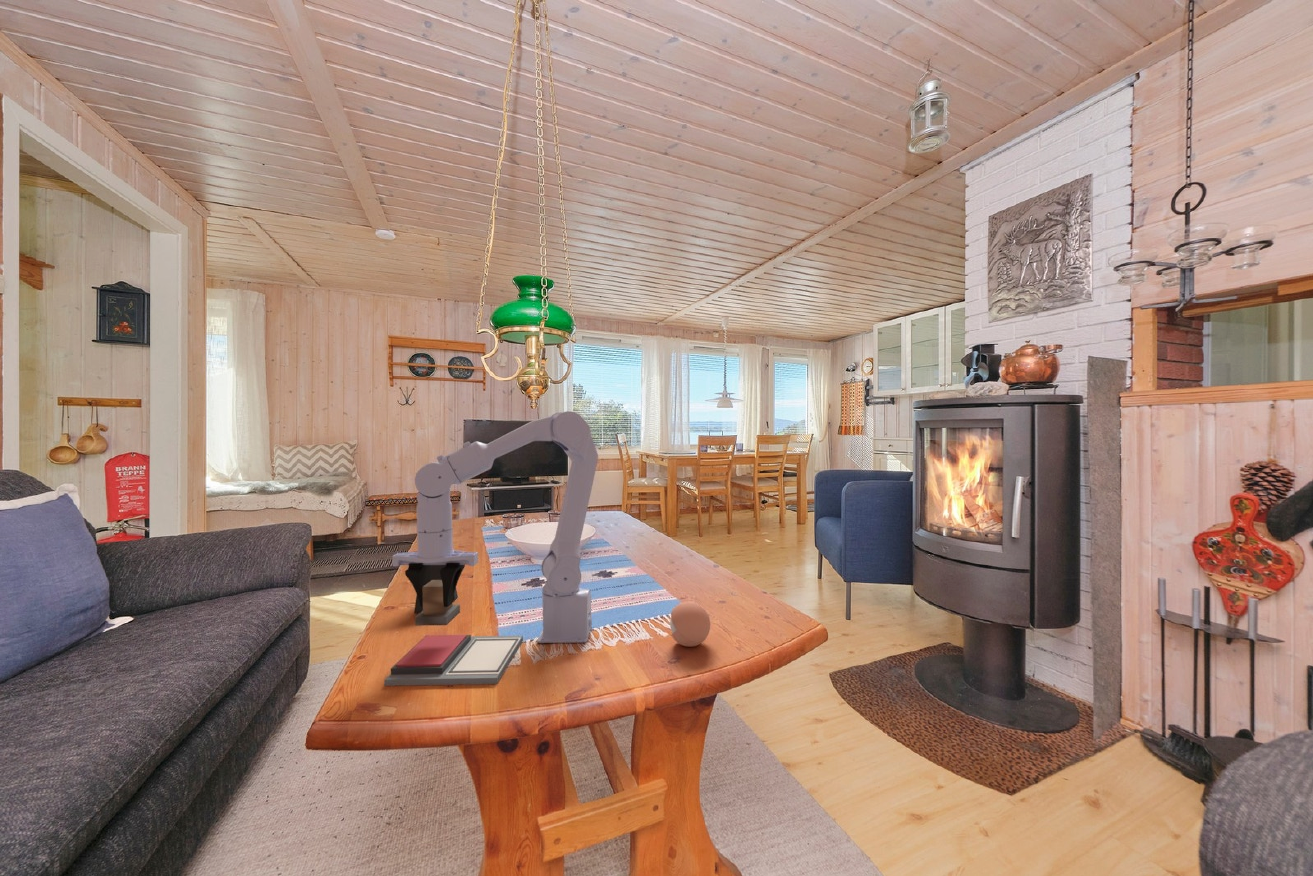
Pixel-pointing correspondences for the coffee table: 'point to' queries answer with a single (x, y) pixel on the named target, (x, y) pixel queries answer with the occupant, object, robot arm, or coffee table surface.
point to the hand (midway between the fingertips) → (436, 604)
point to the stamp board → (455, 660)
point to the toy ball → (689, 624)
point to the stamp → (435, 606)
